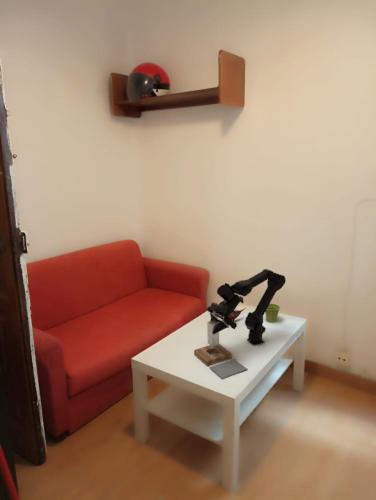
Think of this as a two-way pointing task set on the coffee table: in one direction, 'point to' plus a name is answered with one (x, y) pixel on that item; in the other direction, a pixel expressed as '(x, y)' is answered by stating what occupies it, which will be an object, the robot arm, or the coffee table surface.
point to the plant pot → (272, 312)
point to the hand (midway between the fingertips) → (210, 331)
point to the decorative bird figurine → (235, 314)
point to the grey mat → (228, 368)
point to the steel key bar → (212, 338)
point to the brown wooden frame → (212, 359)
